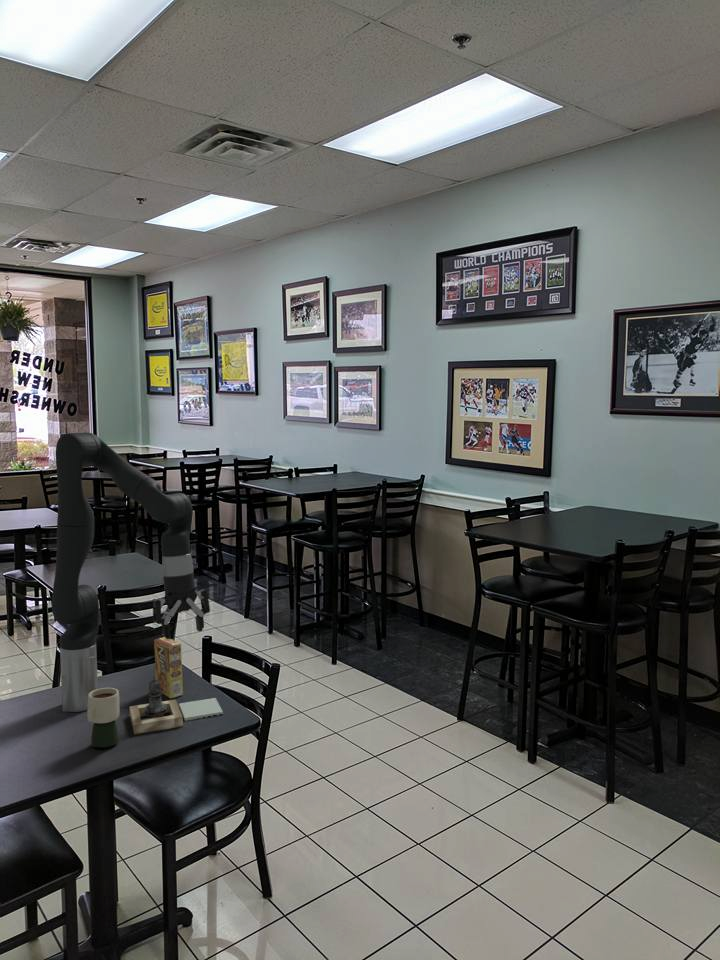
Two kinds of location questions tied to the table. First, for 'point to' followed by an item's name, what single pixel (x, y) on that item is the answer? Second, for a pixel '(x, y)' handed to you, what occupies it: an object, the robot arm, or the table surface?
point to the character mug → (103, 716)
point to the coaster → (200, 709)
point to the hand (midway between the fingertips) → (183, 634)
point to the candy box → (169, 666)
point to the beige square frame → (155, 723)
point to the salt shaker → (155, 700)
